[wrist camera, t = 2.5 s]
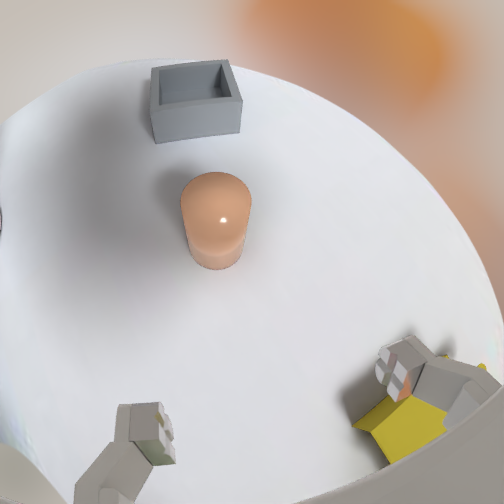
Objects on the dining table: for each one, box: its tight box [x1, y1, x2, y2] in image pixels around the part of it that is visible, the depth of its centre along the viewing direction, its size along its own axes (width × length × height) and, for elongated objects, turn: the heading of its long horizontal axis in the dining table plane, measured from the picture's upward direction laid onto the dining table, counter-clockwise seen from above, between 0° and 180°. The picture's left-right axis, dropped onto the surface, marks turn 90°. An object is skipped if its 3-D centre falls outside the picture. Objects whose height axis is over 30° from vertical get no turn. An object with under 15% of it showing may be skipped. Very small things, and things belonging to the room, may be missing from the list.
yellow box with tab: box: [352, 355, 486, 466], centre depth 19 cm, size 16×8×15 cm
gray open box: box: [150, 60, 243, 144], centre depth 32 cm, size 10×10×5 cm
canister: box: [180, 172, 251, 270], centre depth 24 cm, size 5×5×8 cm
